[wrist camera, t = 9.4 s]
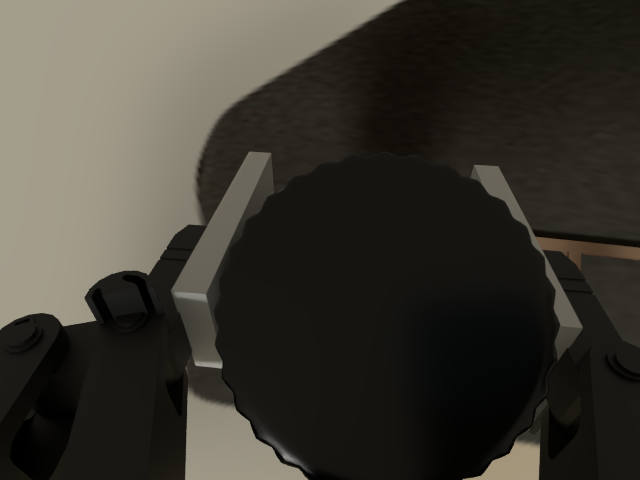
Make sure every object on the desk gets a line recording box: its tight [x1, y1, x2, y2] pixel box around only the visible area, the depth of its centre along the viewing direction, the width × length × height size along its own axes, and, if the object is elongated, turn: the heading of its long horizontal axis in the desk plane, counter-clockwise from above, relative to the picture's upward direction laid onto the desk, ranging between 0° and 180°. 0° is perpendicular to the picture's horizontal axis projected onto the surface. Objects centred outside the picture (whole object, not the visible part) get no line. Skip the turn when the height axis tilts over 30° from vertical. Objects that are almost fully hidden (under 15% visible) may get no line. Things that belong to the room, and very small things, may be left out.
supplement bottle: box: [213, 151, 560, 480], centre depth 11 cm, size 7×7×12 cm
